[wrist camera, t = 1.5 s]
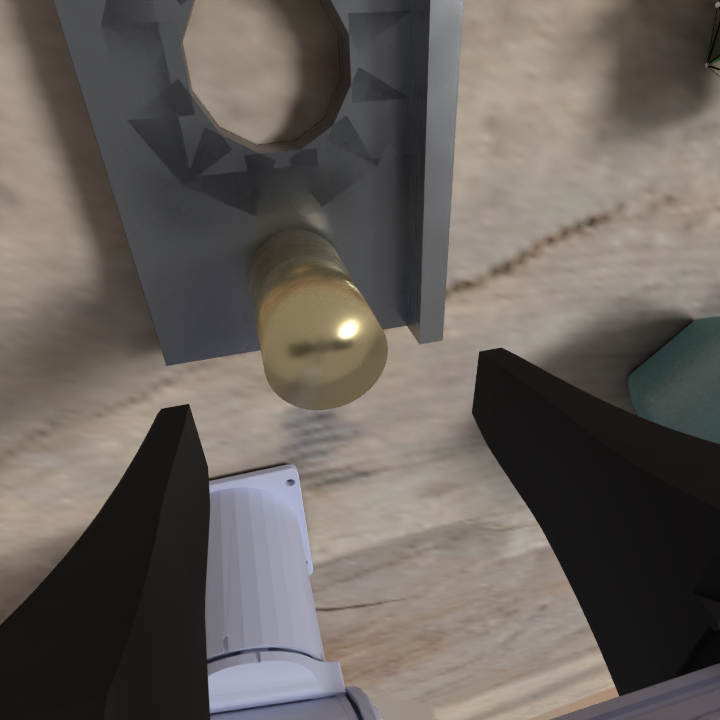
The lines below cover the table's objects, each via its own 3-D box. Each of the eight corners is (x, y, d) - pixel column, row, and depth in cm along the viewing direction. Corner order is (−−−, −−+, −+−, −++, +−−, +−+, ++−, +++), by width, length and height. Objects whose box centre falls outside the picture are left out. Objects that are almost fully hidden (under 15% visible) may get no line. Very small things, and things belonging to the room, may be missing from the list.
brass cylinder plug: (344, 310, 21) (388, 397, 16) (256, 324, 20) (273, 420, 15) (339, 224, 19) (387, 294, 14) (240, 236, 18) (254, 314, 13)
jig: (415, 305, 23) (442, 340, 21) (168, 345, 21) (163, 389, 19) (427, -123, 15) (472, -154, 13) (28, -126, 13) (-14, -163, 11)
